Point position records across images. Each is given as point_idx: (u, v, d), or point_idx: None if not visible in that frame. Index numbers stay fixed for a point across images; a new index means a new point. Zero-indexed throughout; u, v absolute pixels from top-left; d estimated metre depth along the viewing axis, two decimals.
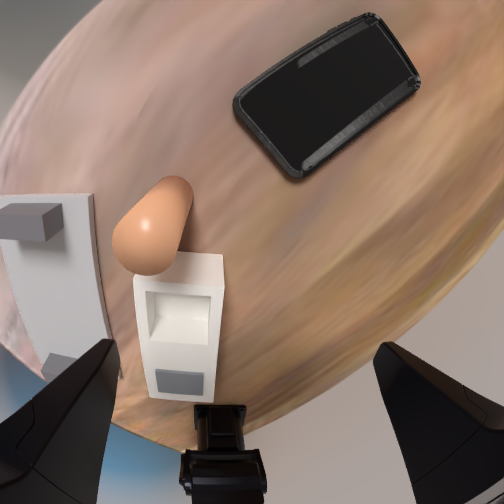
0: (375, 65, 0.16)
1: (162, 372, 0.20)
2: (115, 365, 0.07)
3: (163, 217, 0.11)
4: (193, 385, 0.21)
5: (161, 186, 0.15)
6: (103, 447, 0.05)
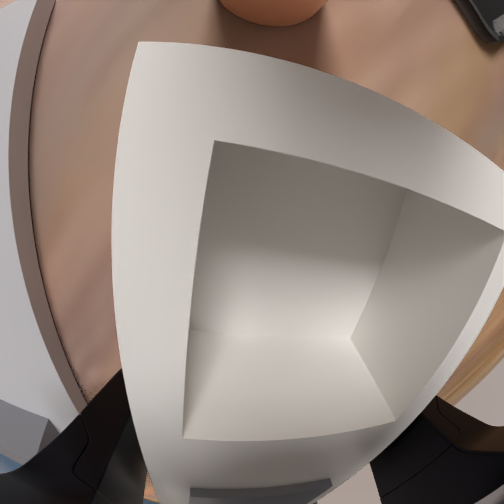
0: None
1: (214, 497, 0.05)
2: None
3: None
4: (290, 503, 0.06)
5: None
6: None
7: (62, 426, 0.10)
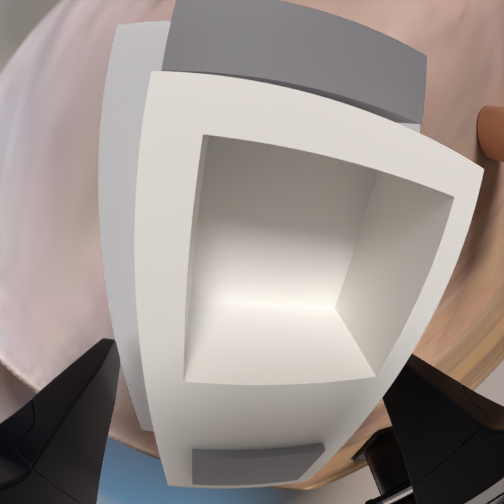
0: None
1: (214, 458, 0.06)
2: (115, 365, 0.07)
3: None
4: (287, 470, 0.07)
5: None
6: (103, 447, 0.05)
7: None
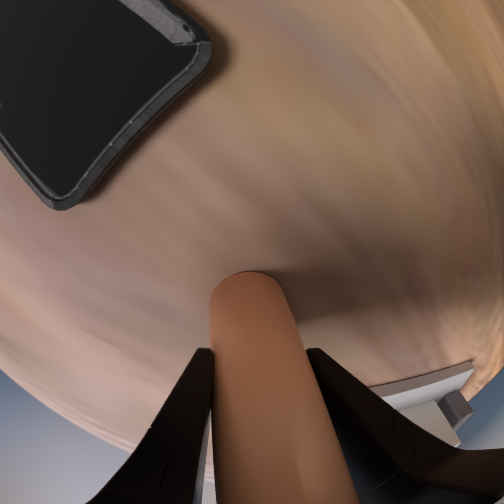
0: None
1: None
2: None
3: None
4: None
5: None
6: (205, 460, 0.06)
7: (452, 387, 0.16)
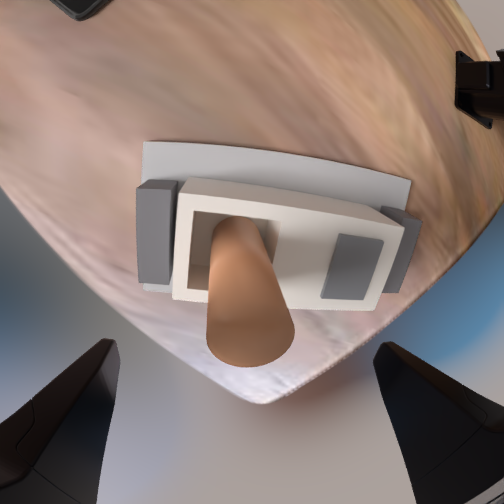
0: None
1: (325, 289, 0.16)
2: (115, 365, 0.07)
3: (214, 312, 0.09)
4: (359, 252, 0.15)
5: None
6: (103, 447, 0.05)
7: (388, 197, 0.20)
